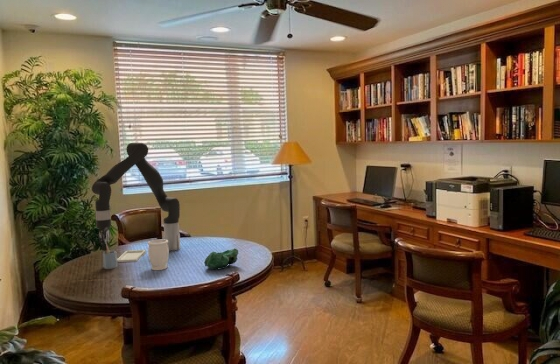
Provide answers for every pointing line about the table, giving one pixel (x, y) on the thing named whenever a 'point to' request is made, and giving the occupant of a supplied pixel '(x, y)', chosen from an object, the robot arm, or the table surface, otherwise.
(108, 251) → the pin
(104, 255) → the cup
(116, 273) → the table surface
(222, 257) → the mineral
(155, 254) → the jar
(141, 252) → the tray
